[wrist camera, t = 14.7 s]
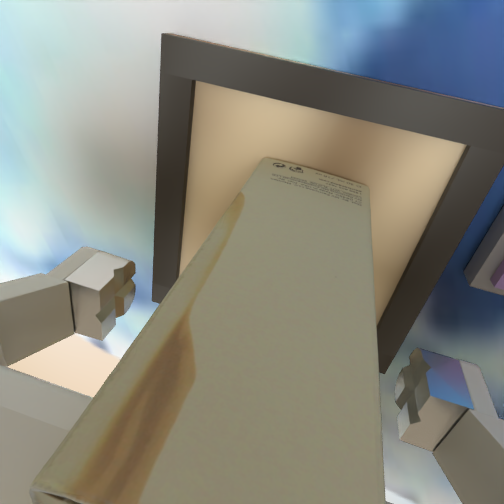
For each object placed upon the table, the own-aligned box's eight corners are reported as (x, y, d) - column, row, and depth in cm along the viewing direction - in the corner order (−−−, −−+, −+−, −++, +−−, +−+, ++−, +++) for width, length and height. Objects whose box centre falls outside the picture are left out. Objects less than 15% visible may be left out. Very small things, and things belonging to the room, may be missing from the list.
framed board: (522, 112, 12) (531, 116, 11) (383, 363, 18) (384, 374, 18) (170, 33, 13) (161, 33, 12) (158, 293, 19) (151, 301, 19)
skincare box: (261, 152, 14) (4, 468, 4) (374, 184, 14) (420, 635, 3) (233, 282, 18) (59, 630, 7) (322, 311, 17) (268, 723, 7)
